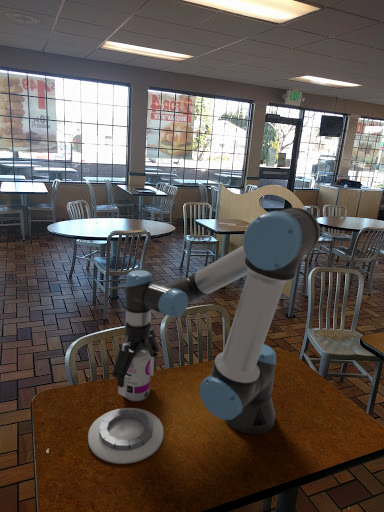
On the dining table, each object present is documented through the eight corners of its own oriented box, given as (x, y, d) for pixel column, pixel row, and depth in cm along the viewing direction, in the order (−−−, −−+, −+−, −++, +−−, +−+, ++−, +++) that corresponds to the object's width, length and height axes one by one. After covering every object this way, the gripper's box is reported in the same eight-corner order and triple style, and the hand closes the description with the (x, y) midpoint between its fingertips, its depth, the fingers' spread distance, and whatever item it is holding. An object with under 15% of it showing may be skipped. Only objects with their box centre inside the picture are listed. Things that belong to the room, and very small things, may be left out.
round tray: (177, 428, 109) (177, 419, 108) (132, 476, 92) (132, 466, 92) (121, 403, 119) (121, 395, 118) (71, 442, 102) (71, 433, 101)
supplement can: (151, 388, 127) (153, 346, 123) (146, 403, 119) (147, 360, 115) (127, 385, 127) (127, 344, 124) (120, 401, 120) (120, 357, 116)
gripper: (152, 305, 129) (150, 363, 135) (99, 333, 108) (99, 399, 113) (171, 311, 125) (168, 369, 131) (120, 341, 104) (119, 409, 110)
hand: (136, 384), depth 122 cm, fingers open, 13 cm apart
